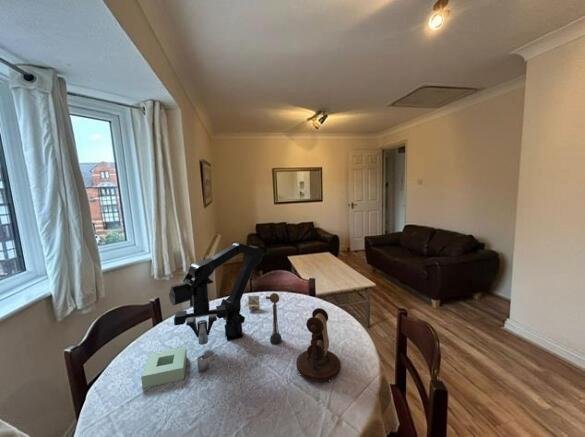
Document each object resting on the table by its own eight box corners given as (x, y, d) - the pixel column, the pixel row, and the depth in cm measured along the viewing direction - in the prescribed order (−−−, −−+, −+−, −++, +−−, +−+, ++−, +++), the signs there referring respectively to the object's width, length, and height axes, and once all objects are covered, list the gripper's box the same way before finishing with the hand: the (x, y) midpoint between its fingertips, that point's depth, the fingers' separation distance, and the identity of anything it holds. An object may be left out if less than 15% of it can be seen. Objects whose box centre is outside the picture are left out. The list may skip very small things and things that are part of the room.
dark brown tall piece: (335, 390, 79) (335, 327, 77) (290, 379, 84) (288, 319, 82) (343, 360, 93) (343, 305, 91) (304, 352, 98) (303, 300, 96)
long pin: (208, 338, 103) (206, 319, 102) (208, 343, 100) (206, 323, 99) (198, 340, 102) (197, 320, 101) (198, 345, 99) (197, 325, 98)
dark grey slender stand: (265, 343, 104) (264, 294, 102) (269, 337, 108) (267, 290, 106) (280, 345, 103) (278, 296, 100) (283, 338, 107) (281, 291, 105)
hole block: (186, 357, 97) (186, 346, 96) (183, 379, 85) (183, 367, 85) (150, 364, 93) (149, 353, 93) (142, 388, 82) (141, 376, 81)
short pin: (208, 364, 92) (208, 354, 92) (208, 371, 89) (208, 360, 88) (198, 367, 91) (197, 356, 91) (197, 373, 88) (197, 362, 87)
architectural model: (258, 313, 131) (258, 298, 130) (244, 312, 131) (244, 298, 131) (259, 309, 134) (259, 295, 133) (246, 309, 135) (245, 295, 134)
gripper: (224, 286, 109) (226, 321, 111) (176, 292, 104) (178, 329, 106) (226, 296, 99) (228, 335, 100) (172, 303, 93) (175, 345, 95)
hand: (203, 335), depth 101 cm, fingers closed on long pin, 3 cm apart
